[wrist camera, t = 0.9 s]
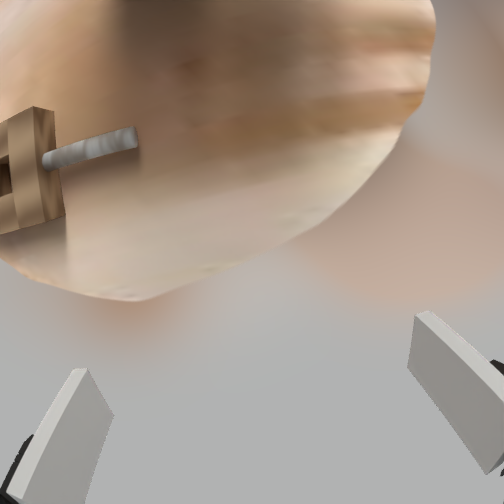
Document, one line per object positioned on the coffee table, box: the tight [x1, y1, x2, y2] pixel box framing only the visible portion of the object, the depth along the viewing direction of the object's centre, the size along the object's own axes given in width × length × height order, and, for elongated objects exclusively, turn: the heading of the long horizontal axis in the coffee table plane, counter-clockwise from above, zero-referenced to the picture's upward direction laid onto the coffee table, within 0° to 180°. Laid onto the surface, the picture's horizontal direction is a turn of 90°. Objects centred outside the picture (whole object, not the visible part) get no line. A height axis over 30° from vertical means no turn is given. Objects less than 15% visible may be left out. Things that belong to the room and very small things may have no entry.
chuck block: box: [0, 106, 138, 235], centre depth 28 cm, size 14×26×5 cm, turn 97°
